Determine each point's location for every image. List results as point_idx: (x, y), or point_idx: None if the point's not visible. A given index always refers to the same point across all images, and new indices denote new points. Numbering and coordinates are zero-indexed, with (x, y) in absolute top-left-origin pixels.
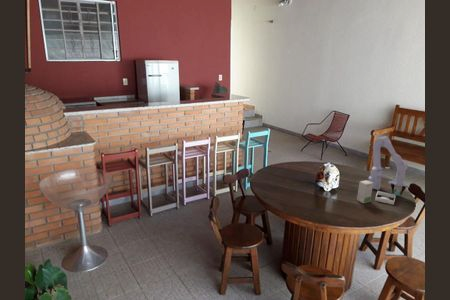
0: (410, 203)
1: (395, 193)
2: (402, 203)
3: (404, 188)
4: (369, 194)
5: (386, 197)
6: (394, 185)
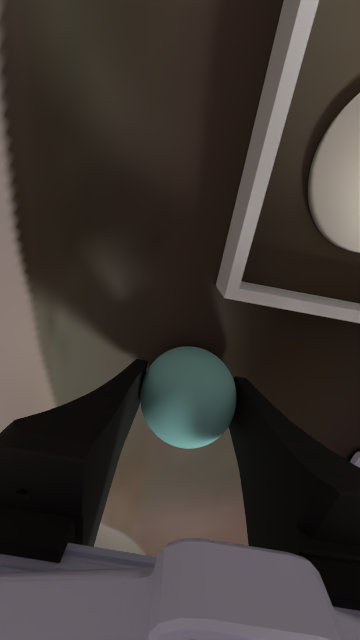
0: (22, 176)
1: (215, 361)
2: (132, 111)
3: (8, 439)
4: None
5: (352, 238)
6: (303, 547)
